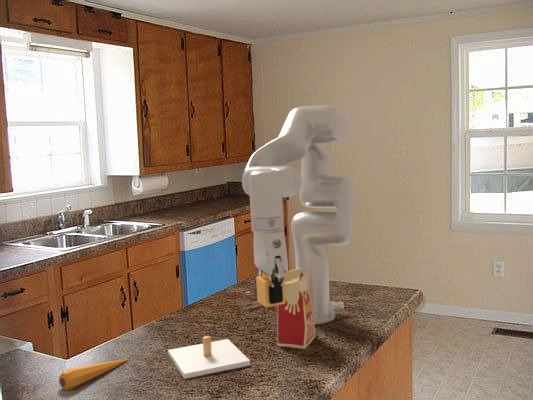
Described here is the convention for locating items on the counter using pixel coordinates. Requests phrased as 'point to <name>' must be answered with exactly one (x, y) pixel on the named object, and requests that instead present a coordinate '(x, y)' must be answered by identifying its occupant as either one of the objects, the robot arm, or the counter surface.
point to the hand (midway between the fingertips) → (271, 298)
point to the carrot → (85, 374)
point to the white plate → (207, 358)
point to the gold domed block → (266, 290)
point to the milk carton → (295, 313)
